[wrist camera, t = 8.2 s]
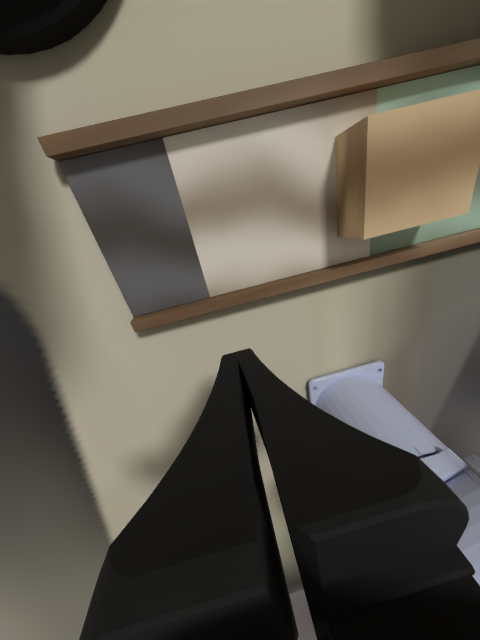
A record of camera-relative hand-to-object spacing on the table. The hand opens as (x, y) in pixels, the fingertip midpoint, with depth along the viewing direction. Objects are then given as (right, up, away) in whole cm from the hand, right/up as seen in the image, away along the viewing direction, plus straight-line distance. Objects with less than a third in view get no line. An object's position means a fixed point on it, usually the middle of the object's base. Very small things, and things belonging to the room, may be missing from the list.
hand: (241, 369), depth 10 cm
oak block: (+10, +12, +5) cm, 16 cm away
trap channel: (+7, +11, +5) cm, 14 cm away
